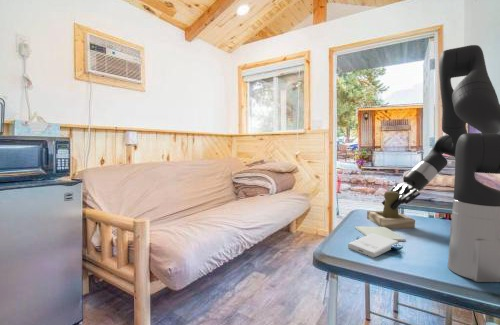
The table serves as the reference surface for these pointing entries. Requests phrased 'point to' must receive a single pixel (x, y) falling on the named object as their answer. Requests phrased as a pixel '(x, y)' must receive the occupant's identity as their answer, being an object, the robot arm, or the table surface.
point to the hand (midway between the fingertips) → (387, 206)
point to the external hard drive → (372, 245)
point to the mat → (380, 232)
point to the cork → (387, 211)
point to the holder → (391, 220)
